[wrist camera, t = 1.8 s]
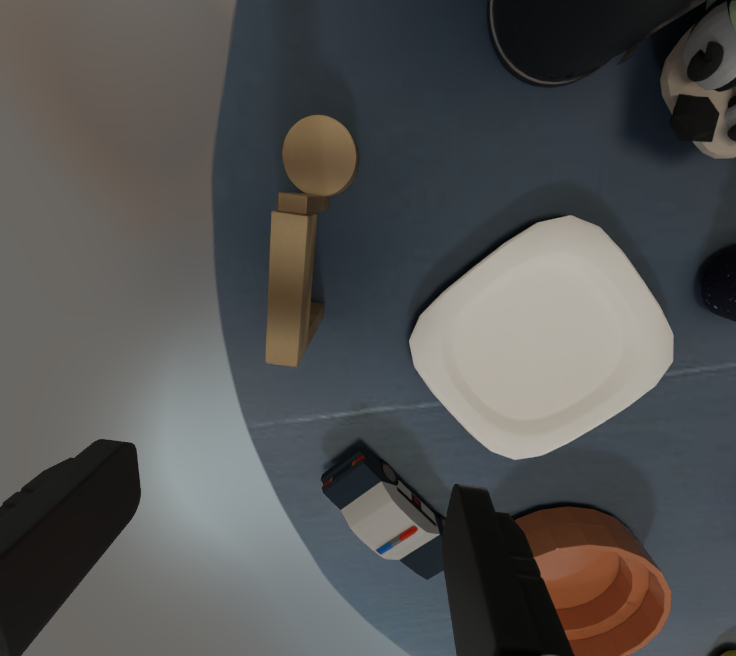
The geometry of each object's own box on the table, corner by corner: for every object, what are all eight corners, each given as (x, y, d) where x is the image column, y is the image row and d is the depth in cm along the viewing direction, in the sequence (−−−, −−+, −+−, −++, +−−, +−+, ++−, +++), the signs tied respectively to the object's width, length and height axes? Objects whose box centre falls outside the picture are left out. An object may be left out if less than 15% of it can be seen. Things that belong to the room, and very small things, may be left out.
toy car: (428, 560, 41) (433, 607, 36) (324, 465, 38) (314, 504, 33) (466, 537, 40) (476, 582, 35) (361, 437, 37) (357, 473, 32)
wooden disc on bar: (292, 116, 28) (243, 75, 18) (363, 126, 28) (350, 89, 18) (281, 313, 33) (239, 359, 23) (341, 321, 33) (323, 371, 23)
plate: (568, 184, 28) (579, 183, 27) (686, 356, 32) (702, 364, 30) (383, 333, 33) (383, 340, 31) (505, 468, 37) (511, 480, 35)
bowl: (469, 514, 39) (480, 558, 34) (636, 491, 37) (673, 534, 32) (488, 623, 44) (500, 675, 39) (637, 608, 42) (669, 660, 37)
